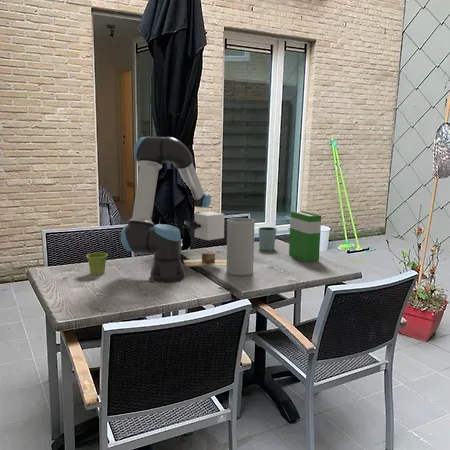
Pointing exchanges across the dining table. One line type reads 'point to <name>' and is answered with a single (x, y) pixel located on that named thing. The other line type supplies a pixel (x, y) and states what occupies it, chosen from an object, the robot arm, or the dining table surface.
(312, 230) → the hardback book
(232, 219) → the cylinder vase
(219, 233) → the white cover
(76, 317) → the dining table surface
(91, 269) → the plant pot
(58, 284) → the dining table surface
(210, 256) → the walnut block
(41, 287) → the dining table surface
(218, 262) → the wooden cutting board
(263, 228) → the grey-blue cup
